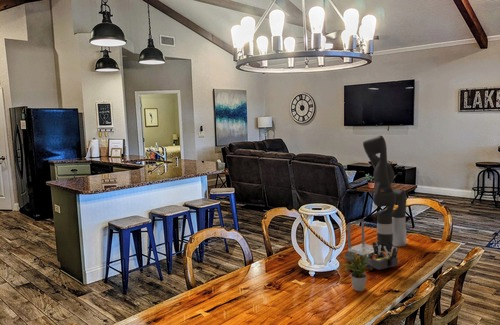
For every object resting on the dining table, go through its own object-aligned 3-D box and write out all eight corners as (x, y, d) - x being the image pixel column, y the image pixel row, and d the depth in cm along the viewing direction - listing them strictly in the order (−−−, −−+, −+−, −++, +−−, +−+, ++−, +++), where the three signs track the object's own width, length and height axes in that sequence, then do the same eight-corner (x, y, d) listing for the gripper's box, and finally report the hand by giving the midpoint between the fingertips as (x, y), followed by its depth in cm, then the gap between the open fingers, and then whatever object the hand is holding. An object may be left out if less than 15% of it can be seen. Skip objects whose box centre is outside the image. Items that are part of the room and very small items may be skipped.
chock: (379, 269, 188) (379, 261, 188) (372, 266, 192) (372, 258, 192) (397, 265, 194) (397, 257, 194) (390, 262, 198) (390, 254, 198)
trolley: (344, 261, 207) (343, 222, 205) (359, 256, 214) (358, 218, 212) (372, 270, 193) (371, 228, 190) (387, 264, 199) (386, 224, 197)
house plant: (353, 278, 185) (353, 245, 183) (381, 286, 175) (380, 251, 173) (337, 288, 175) (336, 253, 173) (365, 297, 165) (364, 260, 163)
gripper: (368, 230, 195) (368, 262, 197) (392, 236, 183) (393, 270, 185) (377, 227, 199) (378, 259, 201) (402, 232, 188) (402, 266, 189)
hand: (385, 264), depth 193 cm, fingers closed on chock, 4 cm apart
